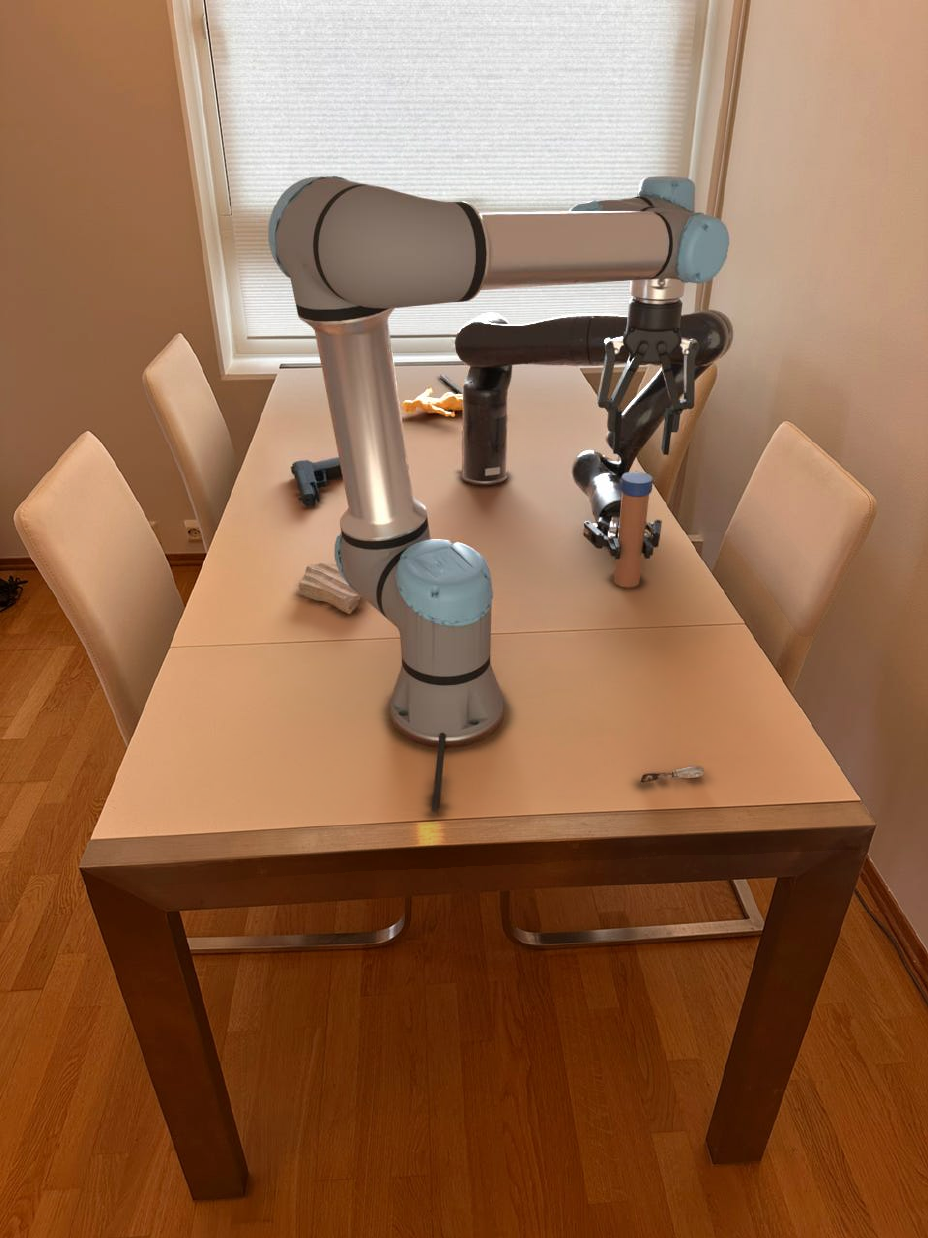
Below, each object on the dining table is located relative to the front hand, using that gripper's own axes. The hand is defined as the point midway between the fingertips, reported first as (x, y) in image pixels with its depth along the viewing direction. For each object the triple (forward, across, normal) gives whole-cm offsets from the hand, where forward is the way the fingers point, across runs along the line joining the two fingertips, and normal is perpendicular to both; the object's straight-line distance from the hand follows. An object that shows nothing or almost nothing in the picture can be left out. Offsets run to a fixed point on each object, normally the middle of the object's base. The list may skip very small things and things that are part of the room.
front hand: (640, 450), depth 139 cm
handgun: (+23, -59, +36) cm, 73 cm away
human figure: (+23, -36, +86) cm, 96 cm away
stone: (+23, -48, -7) cm, 54 cm away
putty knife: (+23, +1, -50) cm, 55 cm away
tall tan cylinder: (+23, 0, 0) cm, 23 cm away
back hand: (+17, 0, -3) cm, 17 cm away
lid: (+5, 0, 0) cm, 5 cm away
